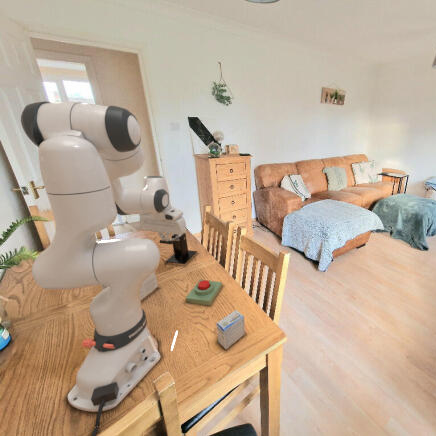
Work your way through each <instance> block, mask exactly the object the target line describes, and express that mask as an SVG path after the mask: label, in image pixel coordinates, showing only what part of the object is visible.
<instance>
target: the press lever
mask: <svg viewBox="0 0 436 436" xmlns="http://www.w3.org/2000/svg"><path fill="white" fill-rule="evenodd" d="M180 236H181V235H177V236H175V238H173V239H172V238H170V240H169V241H162V240H161V239H160V240H159V244H164V245H173V244H172V243H173V241H179V237H180Z"/></svg>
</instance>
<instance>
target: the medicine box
mask: <svg viewBox="0 0 436 436" xmlns="http://www.w3.org/2000/svg"><path fill="white" fill-rule="evenodd" d="M245 329H246V327H245V316H244V315H243V314H242V313H241V312H239V311H238V310H237V309H235V310H233V311H232V312H231V313H229V314H228V315H226V316H225V317H223V318H221V320H219V321H217V322H216V332H217V342H218V343H219V344H220V345H221V346H222V347H223V349H225V350H228V349H229V348H230V347H231V346H233V344H235V343H236V342H237V341H239V340H240V339H241V338H242V337H244V336H245V335H246V330H245Z"/></svg>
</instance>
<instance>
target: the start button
mask: <svg viewBox="0 0 436 436" xmlns="http://www.w3.org/2000/svg"><path fill="white" fill-rule="evenodd" d="M202 280H203V281H201V282H199V281H198V282H199V283H198V282H197V283H198V287H199V289H200V290H206V289H208V288H209V287H210V283H209V281H210V280H208V281H207V279H202Z"/></svg>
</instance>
